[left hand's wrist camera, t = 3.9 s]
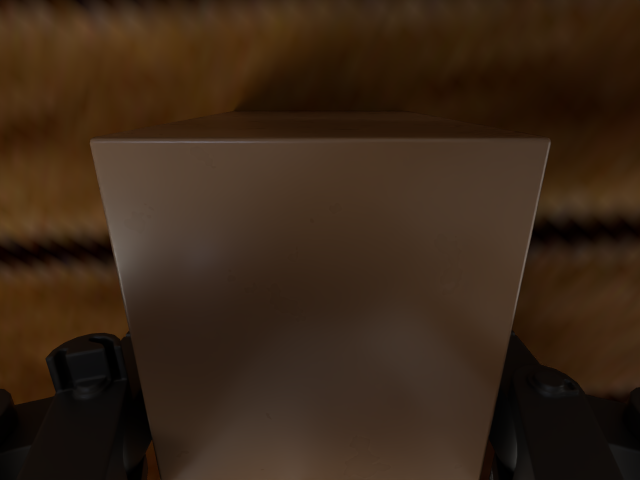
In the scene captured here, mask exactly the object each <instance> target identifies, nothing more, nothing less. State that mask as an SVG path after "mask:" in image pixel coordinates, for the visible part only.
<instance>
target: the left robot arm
mask: <svg viewBox="0 0 640 480" xmlns="http://www.w3.org/2000/svg"><path fill="white" fill-rule="evenodd" d="M46 362H47V365H48V368H49V372H50V375H51V378H52V381H53V384H54V388H55V391H56V394H55V396H53V397H50V398H45V399H41V400H36V401H32V402H27V403H23V404H18V405H14V402H13V399H12V397H11V394H10V393H9V392H7V391H6V390H5V389H0V480H147V473H148V465H147V459H146V454H145V452H146V450H147V448H148V446H149V444H150V442H151V440H152V436H151V431H150V426H149V422H148V417H147V412H146V407H145V403H144V398H143V393H142V388H141V383H140V379H139V374H138V369H137V364H136V360H135V355H134V350H133V345H132V341H131V336H130V331H128V332H127V334H126V337H123V339H122V340H121V341H120V339H119V338H118V337H116V336H115V335H112V334H107V333H94V334H88V335H84V336H80V337H77V338H74V339H72V340H70V341H67V342H65V343H63V344H62V345H60V346H59V347H57V348H56V349H54V350H53V351H52V352H51V353H50V354H49V355H48V356H47V358H46ZM489 440H490V442H491V444H492V446H493V448H494V450H495V454H494V459H493V463H492V468H491V472H490V477H489V480H640V387H638V388H635V389H634V390H633V391H632V392H630V395H629V398H628V400H627V403H621V402H616V401H612V400H607V399H602V398H598V397H593V396H590V395H586V394H585V393H584V391H583V390H582V389H581V387H580V386H579V384H578V383H577V382H575V381H574V380H573V379H572V378H570V377H569V376H568V375H566V374H564V373H562V372H560V371H558V370H556V369H554V368H550V367H547V366H543V365H540V364H539V362H538V361H537V360H536V359H535V357H534V356H533V355H532V354H531V353H530V351H529V350H528V349H527V348H526V346H525V345H524V344H523V343H522V342H521V340H520V339H519V338H518V337H517V336H515V333H514V332H513V331H512V330H511V335H510V339H509V344H508V349H507V353H506V358H505V363H504V368H503V372H502V377H501V382H500V387H499V391H498V396H497V401H496V405H495V410H494V415H493V420H492V424H491V429H490V434H489Z"/></svg>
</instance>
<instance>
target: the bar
mask: <svg viewBox="0 0 640 480" xmlns="http://www.w3.org/2000/svg"><path fill="white" fill-rule="evenodd" d="M550 145H551V140H550V139H549V138H547V137H542V136H537V135H532V134H526V133H521V132H516V131H510V130H505V129H500V128H494V127H489V126H483V125H478V124H473V123H467V122H462V121H457V120H451V119H446V118H441V117H435V116H430V115H424V114H419V113H414V112H408V111H232V112H226V113H221V114H216V115H210V116H205V117H200V118H194V119H189V120H184V121H178V122H173V123H168V124H162V125H157V126H152V127H146V128H141V129H136V130H130V131H125V132H120V133H114V134H109V135H104V136H98V137H94V138H92V139H91V140H90V146H91V150H92V155H93V160H94V165H95V169H96V174H97V179H98V184H99V188H100V193H101V198H102V203H103V207H104V212H105V217H106V222H107V226H108V231H109V236H110V241H111V246H112V250H113V255H114V260H115V265H116V269H117V274H118V279H119V284H120V288H121V293H122V298H123V303H124V307H125V312H126V317H127V322H128V326H129V331H130V336H131V341H132V345H133V350H134V355H135V360H136V364H137V369H138V374H139V379H140V383H141V388H142V393H143V398H144V403H145V407H146V412H147V417H148V422H149V426H150V431H151V436H152V441H153V445H154V450H155V455H156V460H157V464H158V469H159V474H160V479H161V480H480V476H481V472H482V467H483V462H484V458H485V453H486V448H487V443H488V439H489V434H490V429H491V424H492V420H493V415H494V410H495V405H496V401H497V396H498V391H499V387H500V382H501V377H502V372H503V368H504V363H505V358H506V353H507V349H508V344H509V339H510V335H511V330H512V325H513V320H514V316H515V311H516V306H517V301H518V297H519V292H520V287H521V282H522V278H523V273H524V268H525V264H526V259H527V254H528V249H529V245H530V240H531V235H532V230H533V226H534V221H535V216H536V211H537V207H538V202H539V197H540V193H541V188H542V183H543V178H544V174H545V169H546V164H547V159H548V155H549V150H550Z"/></svg>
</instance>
